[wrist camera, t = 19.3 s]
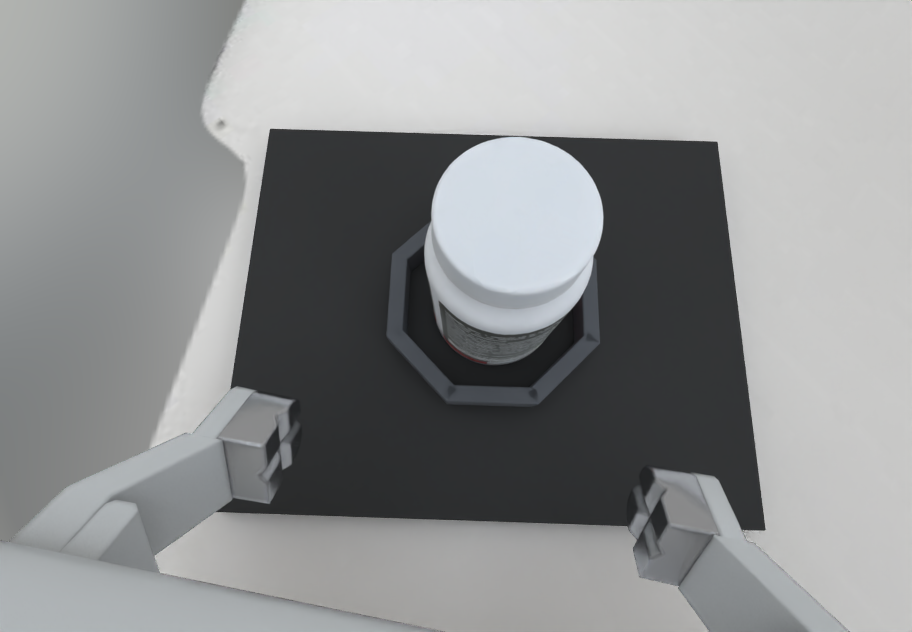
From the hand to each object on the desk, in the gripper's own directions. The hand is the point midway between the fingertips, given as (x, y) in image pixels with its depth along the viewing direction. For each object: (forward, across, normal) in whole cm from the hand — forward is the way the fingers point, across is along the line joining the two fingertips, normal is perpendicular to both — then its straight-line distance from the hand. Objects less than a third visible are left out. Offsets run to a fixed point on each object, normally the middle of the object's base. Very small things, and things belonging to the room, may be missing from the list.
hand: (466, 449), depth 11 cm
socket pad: (+9, 0, +2) cm, 9 cm away
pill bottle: (+9, 0, +1) cm, 9 cm away
